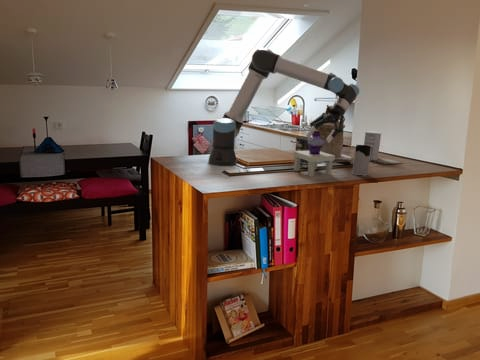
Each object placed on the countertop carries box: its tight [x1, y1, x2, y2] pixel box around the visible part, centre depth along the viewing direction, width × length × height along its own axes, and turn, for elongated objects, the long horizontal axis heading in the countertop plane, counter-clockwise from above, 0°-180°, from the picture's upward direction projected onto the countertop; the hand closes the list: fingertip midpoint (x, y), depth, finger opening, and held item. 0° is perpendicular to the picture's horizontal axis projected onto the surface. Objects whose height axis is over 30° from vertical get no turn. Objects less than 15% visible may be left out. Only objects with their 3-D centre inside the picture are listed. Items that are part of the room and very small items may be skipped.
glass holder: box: [351, 144, 373, 176], centre depth 241 cm, size 9×14×15 cm, turn 135°
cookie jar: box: [311, 104, 352, 161], centre depth 280 cm, size 25×25×32 cm
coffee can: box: [294, 136, 313, 165], centre depth 260 cm, size 10×10×14 cm
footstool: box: [292, 151, 336, 177], centre depth 237 cm, size 15×15×10 cm
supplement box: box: [363, 130, 382, 161], centre depth 284 cm, size 10×9×17 cm
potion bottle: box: [308, 130, 324, 155], centre depth 234 cm, size 9×9×12 cm
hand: (317, 138), depth 234 cm, fingers open, 13 cm apart
